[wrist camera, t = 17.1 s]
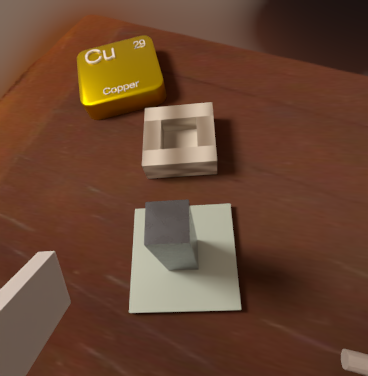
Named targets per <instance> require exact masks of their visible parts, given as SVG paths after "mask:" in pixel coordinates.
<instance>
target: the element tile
mask: <svg viewBox="0 0 368 376" xmlns="http://www.w3.org/2000/svg"><path fill="white" fill-rule="evenodd" d="M77 67H78V79H79V90H80V100H81V103H82V105H83V106H84V108H85V109H86V111H87V113H88V114H89V116H90V117H91V118H92V119H94V120H102V119H106V118H110V117H114V116H117V115H121V114H125V113H129V112H133V111H137V110H141V109H145V108H149V107H152V106H156V105H159V104H161V103H163V102H164V101H165V100H166V96H167V95H166V89H165V85H164V80H163V76H162V73H161V69H160V66H159V62H158V59H157V55H156V52H155V49H154V45H153V42H152V39H151V38H150V37H148V36H138V37H134V38H130V39H126V40H123V41H119V42H115V43H111V44H107V45H103V46H99V47H95V48H91V49H87V50H84V51H82V52H80V53H79V55H78V57H77Z"/></svg>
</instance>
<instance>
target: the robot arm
mask: <svg viewBox="0 0 368 376" xmlns="http://www.w3.org/2000/svg"><path fill="white" fill-rule="evenodd" d="M70 303H71V301H70V297H69V294H68V291H67V288H66V285H65V282H64V278H63V275H62V272H61V269H60V266H59V262H58V259H57V256H56V253H55V251H48V252H38V253H37V254H36V255H35V256H34V257H33V258H32V259H31V260H30V261H29V262H28V263H27V264H26V265H25V266H24V267H23V268H22V269H21V270H20V271H19V272H18V273H17V274H16V275H15V276H14V277H13V278H12V279H10V280H9V281H8V282H7V283H6V284H5V285H4V286H3V287H2V288H1V289H0V376H26V374H27V373H28V371H29V369H30V368H31V366H32V365H33V363H34V361H35V360H36V358H37V356H38V355H39V353H40V352H41V350H42V348H43V347H44V345H45V344H46V342H47V340H48V339H49V337H50V335H51V334H52V332H53V331H54V329H55V327H56V326H57V324H58V323H59V321H60V319H61V318H62V316H63V314H64V313H65V311H66V310H67V308H68V306H69V305H70Z"/></svg>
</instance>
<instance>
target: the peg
mask: <svg viewBox="0 0 368 376" xmlns="http://www.w3.org/2000/svg"><path fill="white" fill-rule="evenodd" d="M144 246H145V247H146V248H147V249H148V250H149V251H150V252H151V253H152V254H153V255H154V256H155V257H156V258H157V259H158V260H159V261H160V262H161V263H162V264H163V265H164V266H165V267H166V269H167V270H168V271H172V270H198V269H199V264H198V242H197V235H196V231H195V226H194V222H193V217H192V213H191V208H190V204H189V200H174V201H157V202H146V206H145V229H144Z"/></svg>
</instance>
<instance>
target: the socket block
mask: <svg viewBox="0 0 368 376" xmlns="http://www.w3.org/2000/svg"><path fill="white" fill-rule="evenodd" d="M142 167H143V169H144V172H145V174H146V176H147V178H148V179H151V178H166V177H181V176H196V175H210V174H217V153H216V141H215V130H214V118H213V107H212V102H209V103H198V104H187V105H176V106H165V107H153V108H145V117H144V136H143V156H142Z"/></svg>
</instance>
